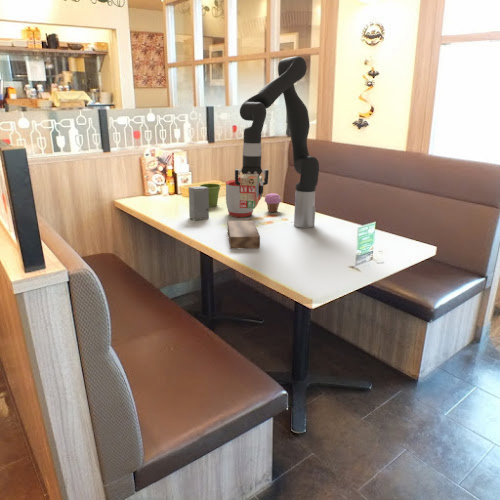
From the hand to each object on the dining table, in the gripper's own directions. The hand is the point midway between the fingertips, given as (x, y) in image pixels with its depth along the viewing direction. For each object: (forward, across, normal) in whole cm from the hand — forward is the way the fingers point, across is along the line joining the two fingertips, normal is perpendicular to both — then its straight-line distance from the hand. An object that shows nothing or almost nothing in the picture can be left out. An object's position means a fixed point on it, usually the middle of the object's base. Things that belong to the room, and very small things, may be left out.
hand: (251, 194), depth 186 cm
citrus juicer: (+20, -1, -44) cm, 48 cm away
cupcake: (+20, -18, -50) cm, 56 cm away
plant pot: (+20, +15, -65) cm, 70 cm away
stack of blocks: (+4, 0, 0) cm, 4 cm away
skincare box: (+20, +21, -38) cm, 48 cm away
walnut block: (+20, +3, -2) cm, 20 cm away
